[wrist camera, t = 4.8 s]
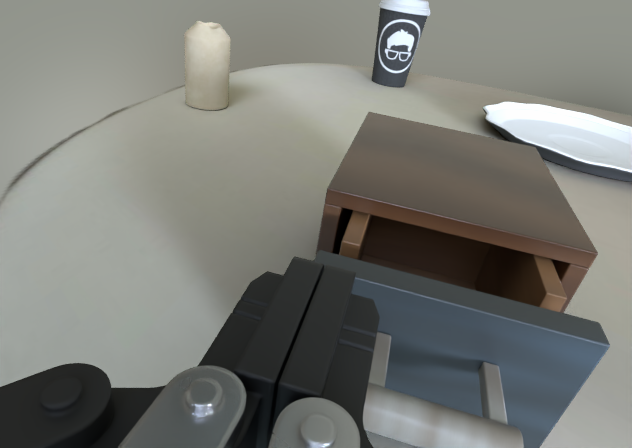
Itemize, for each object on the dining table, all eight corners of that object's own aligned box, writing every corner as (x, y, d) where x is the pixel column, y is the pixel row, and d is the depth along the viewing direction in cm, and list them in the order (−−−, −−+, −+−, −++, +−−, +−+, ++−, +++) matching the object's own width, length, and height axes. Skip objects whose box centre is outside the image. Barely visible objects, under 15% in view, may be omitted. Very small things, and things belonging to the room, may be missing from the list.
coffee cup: (421, 87, 86) (443, 3, 78) (394, 91, 80) (415, 0, 72) (382, 74, 91) (399, -5, 84) (354, 77, 85) (370, -9, 77)
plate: (571, 193, 49) (581, 174, 48) (445, 110, 73) (449, 96, 72) (746, 195, 57) (758, 179, 56) (581, 120, 81) (587, 108, 80)
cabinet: (512, 401, 23) (598, 253, 18) (300, 340, 24) (327, 188, 19) (487, 260, 34) (536, 147, 29) (344, 225, 36) (368, 111, 31)
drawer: (539, 583, 15) (663, 454, 11) (257, 486, 16) (277, 340, 12) (490, 295, 29) (538, 191, 25) (340, 255, 30) (362, 152, 26)
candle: (207, 113, 55) (208, 27, 50) (176, 101, 57) (174, 18, 52) (236, 106, 59) (240, 26, 54) (206, 95, 61) (207, 18, 56)
